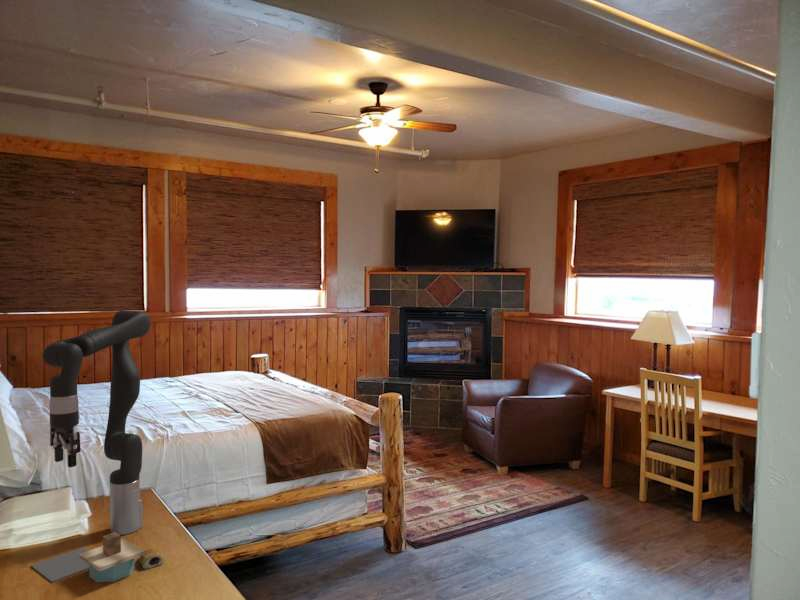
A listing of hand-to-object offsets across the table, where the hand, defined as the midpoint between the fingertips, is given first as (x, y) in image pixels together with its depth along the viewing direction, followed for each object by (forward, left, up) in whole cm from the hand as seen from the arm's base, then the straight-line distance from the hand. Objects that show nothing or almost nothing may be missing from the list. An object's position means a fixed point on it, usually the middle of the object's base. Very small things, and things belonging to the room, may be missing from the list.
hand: (65, 463), depth 175 cm
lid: (-6, +15, -26) cm, 30 cm away
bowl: (-7, +15, -31) cm, 35 cm away
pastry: (-17, +17, -32) cm, 40 cm away
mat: (-1, 0, -31) cm, 31 cm away
